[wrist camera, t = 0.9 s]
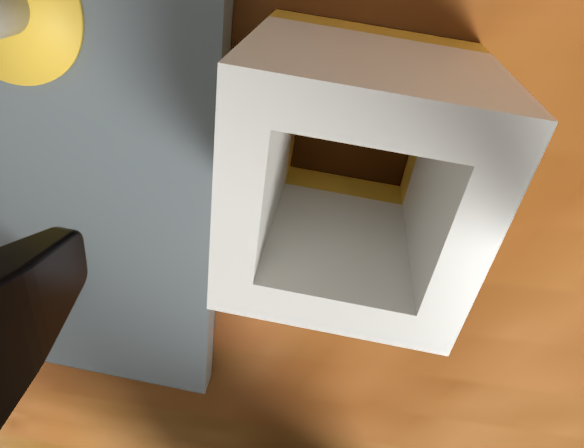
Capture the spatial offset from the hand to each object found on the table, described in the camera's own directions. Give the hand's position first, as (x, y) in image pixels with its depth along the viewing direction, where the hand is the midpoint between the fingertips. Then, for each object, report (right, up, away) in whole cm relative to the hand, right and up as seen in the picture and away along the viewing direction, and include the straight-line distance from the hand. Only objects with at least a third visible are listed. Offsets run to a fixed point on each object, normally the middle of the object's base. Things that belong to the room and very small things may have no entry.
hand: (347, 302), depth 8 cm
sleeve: (+1, +4, +7) cm, 8 cm away
